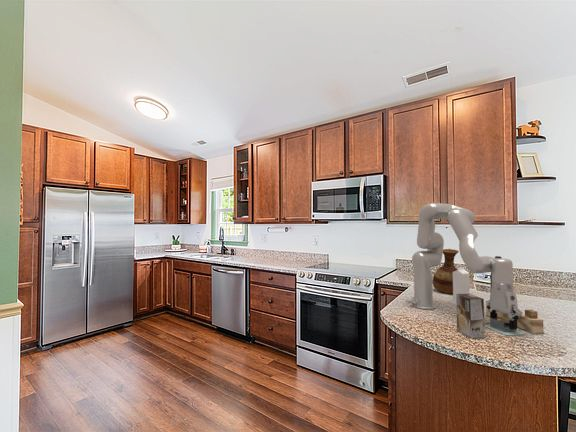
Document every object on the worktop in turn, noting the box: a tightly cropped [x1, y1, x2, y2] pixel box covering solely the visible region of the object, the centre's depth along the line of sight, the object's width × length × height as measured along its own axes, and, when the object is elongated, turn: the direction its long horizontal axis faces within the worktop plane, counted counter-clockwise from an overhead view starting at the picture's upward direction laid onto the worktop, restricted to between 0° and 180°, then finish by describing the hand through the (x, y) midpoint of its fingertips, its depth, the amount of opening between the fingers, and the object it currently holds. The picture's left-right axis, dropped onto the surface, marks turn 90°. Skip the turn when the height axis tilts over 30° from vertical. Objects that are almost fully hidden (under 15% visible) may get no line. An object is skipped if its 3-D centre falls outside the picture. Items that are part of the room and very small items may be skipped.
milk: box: [452, 266, 470, 306], centre depth 164 cm, size 6×6×22 cm
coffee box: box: [455, 294, 486, 339], centre depth 120 cm, size 9×6×16 cm
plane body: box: [485, 304, 545, 335], centre depth 132 cm, size 24×5×9 cm, turn 8°
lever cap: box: [489, 317, 517, 332], centre depth 125 cm, size 6×7×4 cm
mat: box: [484, 324, 526, 337], centre depth 124 cm, size 9×12×1 cm
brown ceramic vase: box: [432, 248, 460, 295], centre depth 196 cm, size 20×20×30 cm
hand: (503, 325), depth 124 cm, fingers open, 9 cm apart
